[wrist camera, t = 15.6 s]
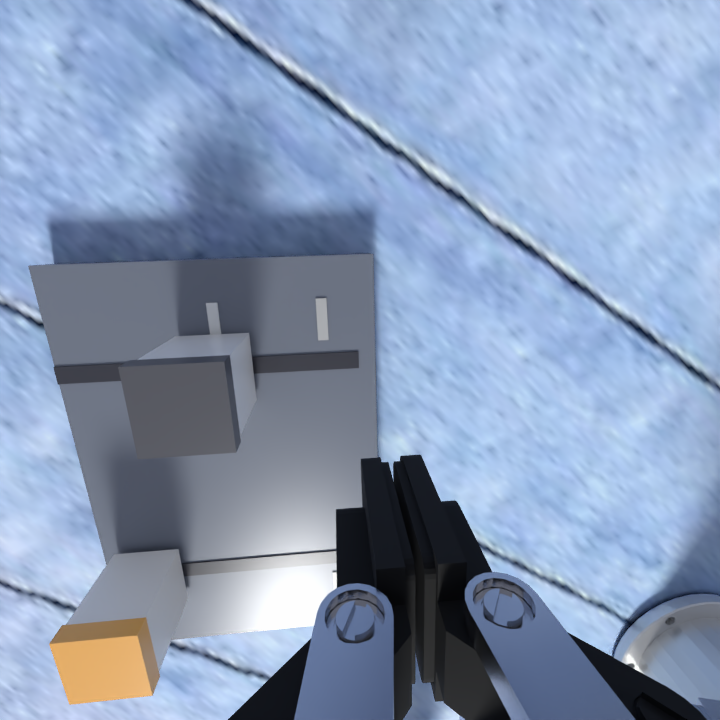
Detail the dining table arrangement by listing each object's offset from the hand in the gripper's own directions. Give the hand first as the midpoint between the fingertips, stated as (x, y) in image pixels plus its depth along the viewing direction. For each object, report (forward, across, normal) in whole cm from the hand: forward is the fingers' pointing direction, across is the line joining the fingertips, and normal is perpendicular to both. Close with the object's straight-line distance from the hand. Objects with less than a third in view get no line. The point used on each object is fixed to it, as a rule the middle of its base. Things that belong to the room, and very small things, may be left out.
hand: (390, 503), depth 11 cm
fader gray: (+13, +8, -1) cm, 15 cm away
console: (+15, +8, +6) cm, 18 cm away
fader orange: (+13, +14, +13) cm, 23 cm away
